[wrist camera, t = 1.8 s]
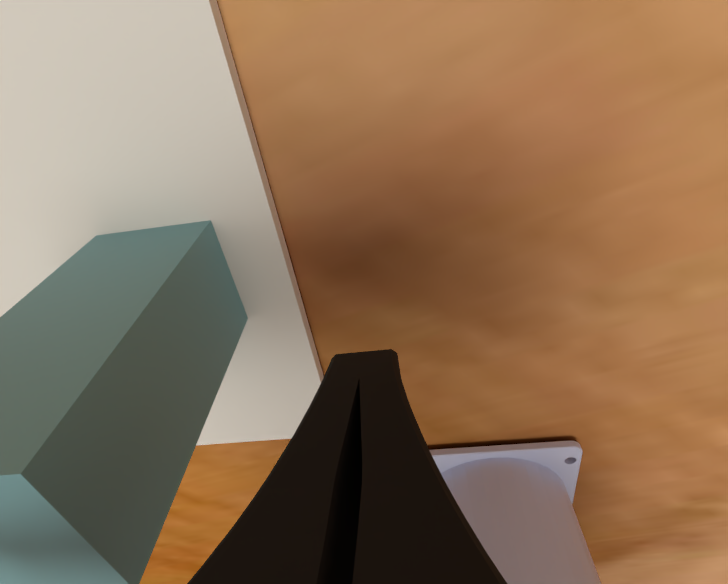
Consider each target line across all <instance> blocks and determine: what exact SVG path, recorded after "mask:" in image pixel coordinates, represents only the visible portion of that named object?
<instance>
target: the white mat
mask: <svg viewBox="0 0 728 584" xmlns="http://www.w3.org/2000/svg"><path fill="white" fill-rule="evenodd" d="M208 220H211V222H212V225H213V227H214V230H215V232H216V235H217V238H218V240H219V243H220V246H221V248H222V251H223V254H224V256H225V259H226V261H227V264H228V267H229V269H230V272H231V275H232V277H233V280H234V283H235V285H236V288H237V290H238V293H239V296H240V298H241V301H242V304H243V306H244V309H245V312H246V314H247V317H248V320H247V322H246V325H245V327H244V329H243V332H242V334H241V337H240V339H239V342H238V344H237V346H236V349H235V351H234V354H233V356H232V359H231V361H230V363H229V366H228V368H227V371H226V373H225V376H224V378H223V381H222V383H221V385H220V388H219V390H218V393H217V395H216V398H215V400H214V402H213V405H212V407H211V410H210V412H209V415H208V417H207V419H206V422H205V424H204V427H203V429H202V432H201V434H200V437H199V439H198V441H197V444H196V445H207V444H221V443H235V442H249V441H263V440H277V439H291V438H292V437H293V435H294V433H295V432H296V430H297V428H298V426H299V424H300V423H301V421H302V419H303V417H304V415H305V413H306V412H307V410H308V408H309V406H310V404H311V402H312V400H313V398H314V396H315V394H316V392H317V390H318V388H319V386H320V384H321V382H322V380H323V378H324V376H323V372H322V369H321V365H320V362H319V358H318V354H317V351H316V347H315V344H314V340H313V337H312V333H311V330H310V326H309V323H308V319H307V316H306V312H305V309H304V305H303V302H302V298H301V295H300V291H299V288H298V284H297V281H296V277H295V274H294V270H293V267H292V263H291V260H290V256H289V253H288V249H287V246H286V242H285V239H284V235H283V232H282V228H281V225H280V221H279V218H278V214H277V211H276V207H275V204H274V200H273V197H272V193H271V190H270V186H269V183H268V179H267V176H266V172H265V169H264V165H263V162H262V158H261V155H260V151H259V147H258V144H257V140H256V137H255V133H254V130H253V126H252V123H251V119H250V116H249V112H248V109H247V105H246V102H245V98H244V95H243V91H242V88H241V84H240V81H239V77H238V74H237V70H236V67H235V63H234V60H233V56H232V53H231V49H230V46H229V42H228V39H227V35H226V32H225V28H224V25H223V21H222V18H221V14H220V11H219V7H218V4H217V0H0V317H1V316H2V315H3V314H5V313H6V312H7V311H8V310H9V309H11V308H12V307H13V306H14V305H15V304H16V303H18V302H19V301H20V300H21V299H22V298H23V297H25V296H26V295H27V294H28V293H29V292H30V291H32V290H33V289H34V288H35V287H36V286H38V285H39V284H40V283H41V282H42V281H43V280H45V279H46V278H47V277H48V276H49V275H50V274H52V273H53V272H54V271H55V270H56V269H57V268H59V267H60V266H61V265H62V264H63V263H64V262H66V261H67V260H68V259H69V258H70V257H72V256H73V255H74V254H75V253H76V252H77V251H79V250H80V249H81V248H82V247H83V246H84V245H86V244H87V243H88V242H89V241H90V240H91V239H93V238H94V237H95V236H96V235H103V234H111V233H118V232H126V231H133V230H141V229H148V228H156V227H163V226H171V225H178V224H186V223H193V222H201V221H208Z"/></svg>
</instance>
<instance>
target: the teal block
mask: <svg viewBox="0 0 728 584" xmlns="http://www.w3.org/2000/svg"><path fill="white" fill-rule="evenodd" d="M247 320H248V317H247V314H246V312H245V309H244V306H243V304H242V301H241V298H240V296H239V293H238V290H237V288H236V285H235V283H234V280H233V277H232V275H231V272H230V269H229V267H228V264H227V261H226V259H225V256H224V254H223V251H222V248H221V246H220V243H219V240H218V238H217V235H216V232H215V230H214V227H213V225H212V222H211V220H208V221H201V222H193V223H186V224H178V225H171V226H163V227H156V228H148V229H141V230H133V231H126V232H118V233H111V234H103V235H96V236H95V237H94V238H93V239H91V240H90V241H89V242H88V243H87V244H86V245H84V246H83V247H82V248H81V249H80V250H79V251H77V252H76V253H75V254H74V255H73V256H72V257H70V258H69V259H68V260H67V261H66V262H64V263H63V264H62V265H61V266H60V267H59V268H57V269H56V270H55V271H54V272H53V273H52V274H50V275H49V276H48V277H47V278H46V279H45V280H43V281H42V282H41V283H40V284H39V285H38V286H36V287H35V288H34V289H33V290H32V291H30V292H29V293H28V294H27V295H26V296H25V297H23V298H22V299H21V300H20V301H19V302H18V303H16V304H15V305H14V306H13V307H12V308H11V309H9V310H8V311H7V312H6V313H5V314H3V315H2V316H1V317H0V584H139V583H140V580H141V578H142V575H143V573H144V570H145V568H146V566H147V563H148V561H149V558H150V556H151V553H152V551H153V549H154V546H155V544H156V541H157V539H158V536H159V534H160V531H161V529H162V527H163V524H164V522H165V519H166V517H167V514H168V512H169V510H170V507H171V505H172V502H173V500H174V497H175V495H176V493H177V490H178V488H179V485H180V483H181V480H182V478H183V475H184V473H185V471H186V468H187V466H188V463H189V461H190V458H191V456H192V454H193V451H194V449H195V446H196V444H197V441H198V439H199V437H200V434H201V432H202V429H203V427H204V424H205V422H206V419H207V417H208V415H209V412H210V410H211V407H212V405H213V402H214V400H215V398H216V395H217V393H218V390H219V388H220V385H221V383H222V381H223V378H224V376H225V373H226V371H227V368H228V366H229V363H230V361H231V359H232V356H233V354H234V351H235V349H236V346H237V344H238V342H239V339H240V337H241V334H242V332H243V329H244V327H245V325H246V322H247Z"/></svg>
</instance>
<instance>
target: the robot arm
mask: <svg viewBox="0 0 728 584" xmlns="http://www.w3.org/2000/svg"><path fill="white" fill-rule="evenodd" d="M582 453H583V452H582V448H581V446H580V444H579V443H578V442H576V441H555V442H539V443H524V444H509V445H494V446H479V447H464V448H449V449H434V450H429V449H428V446H427V444H426V442H425V440H424V438H423V436H422V433H421V431H420V429H419V426H418V424H417V421H416V419H415V417H414V414H413V412H412V409H411V407H410V404H409V401H408V399H407V396H406V393H405V390H404V386H403V383H402V380H401V375H400V369H399V362H398V355H397V353H396V352H395V351H393V350H392V349H389V350H378V351H368V352H357V353H346V354H336V355H335V356H334V357H333V358H332V360H331V362H330V364H329V367H328V369H327V371H326V374H325V376H324V378H323V380H322V382H321V384H320V386H319V388H318V390H317V392H316V394H315V396H314V398H313V400H312V402H311V404H310V406H309V408H308V410H307V412H306V413H305V415H304V417H303V419H302V421H301V423H300V424H299V426H298V428H297V430H296V432H295V433H294V435H293V437H292V439H291V440H290V442H289V444H288V445H287V447H286V449H285V450H284V452H283V453H282V455H281V457H280V458H279V460H278V461H277V463H276V465H275V466H274V468H273V469H272V471H271V473H270V474H269V476H268V477H267V479H266V480H265V482H264V483H263V485H262V486H261V488H260V489H259V491H258V492H257V494H256V495H255V497H254V498H253V500H252V501H251V502H250V504H249V505H248V507H247V508H246V509H245V511H244V512H243V514H242V515H241V516H240V518H239V519H238V520H237V522H236V523H235V524H234V526H233V527H232V529H231V530H230V531H229V532H228V534H227V535H226V536H225V538H224V539H223V540H222V541H221V543H220V544H219V545H218V546H217V548H216V549H215V550H214V551H213V553H212V554H211V555H210V557H209V558H208V559H207V560H206V562H205V563H204V564H203V565H202V567H201V568H200V569H199V570H198V571H197V573H196V574H195V575H194V576H193V578H192V579H191V580H190V581H189V582H188V583H187V584H601V582H600V579H599V576H598V573H597V571H596V568H595V565H594V563H593V560H592V557H591V555H590V552H589V549H588V546H587V544H586V541H585V538H584V536H583V533H582V530H581V528H580V525H579V522H578V519H577V517H576V514H575V511H574V509H573V506H572V504H573V499H574V494H575V488H576V483H577V478H578V473H579V468H580V463H581V458H582Z"/></svg>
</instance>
